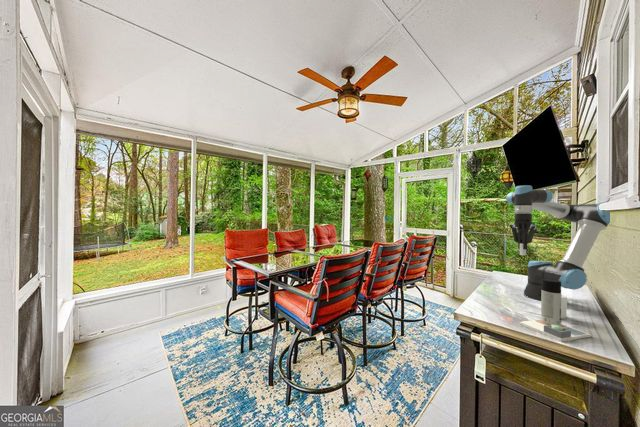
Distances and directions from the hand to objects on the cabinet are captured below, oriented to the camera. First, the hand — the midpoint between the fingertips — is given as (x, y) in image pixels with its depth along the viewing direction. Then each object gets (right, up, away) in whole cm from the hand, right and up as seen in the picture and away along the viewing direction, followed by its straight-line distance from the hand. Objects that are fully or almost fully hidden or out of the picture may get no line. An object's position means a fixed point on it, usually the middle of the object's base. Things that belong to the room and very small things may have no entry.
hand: (522, 255), depth 136 cm
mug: (+5, -29, -13) cm, 32 cm away
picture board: (-10, -29, -28) cm, 42 cm away
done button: (-14, -27, -34) cm, 46 cm away
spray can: (-7, -28, -24) cm, 37 cm away
